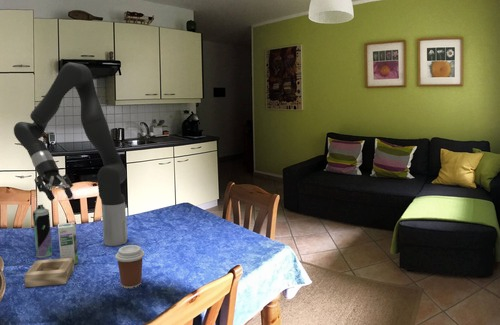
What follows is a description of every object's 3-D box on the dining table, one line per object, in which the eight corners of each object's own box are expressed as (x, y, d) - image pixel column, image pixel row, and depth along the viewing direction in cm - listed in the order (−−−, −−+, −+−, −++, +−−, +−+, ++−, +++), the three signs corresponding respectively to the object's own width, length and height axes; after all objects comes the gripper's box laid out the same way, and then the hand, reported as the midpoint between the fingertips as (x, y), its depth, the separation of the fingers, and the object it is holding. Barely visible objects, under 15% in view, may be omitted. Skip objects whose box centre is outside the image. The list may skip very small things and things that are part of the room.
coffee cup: (118, 292, 122) (116, 256, 120) (115, 280, 130) (113, 246, 128) (148, 287, 125) (146, 251, 124) (143, 275, 134) (142, 242, 132)
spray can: (45, 258, 148) (41, 207, 144) (33, 257, 149) (28, 206, 145) (55, 252, 153) (51, 203, 150) (43, 251, 154) (39, 202, 151)
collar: (74, 268, 139) (73, 257, 138) (65, 283, 127) (64, 272, 127) (37, 271, 137) (36, 260, 136) (25, 287, 125) (24, 275, 124)
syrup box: (61, 266, 140) (58, 228, 138) (60, 260, 146) (57, 223, 143) (78, 263, 143) (75, 225, 141) (77, 258, 148) (74, 221, 146)
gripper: (34, 159, 149) (52, 195, 146) (65, 159, 162) (82, 191, 159) (23, 170, 152) (40, 205, 148) (54, 169, 165) (70, 201, 161)
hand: (61, 198), depth 154 cm, fingers open, 8 cm apart
